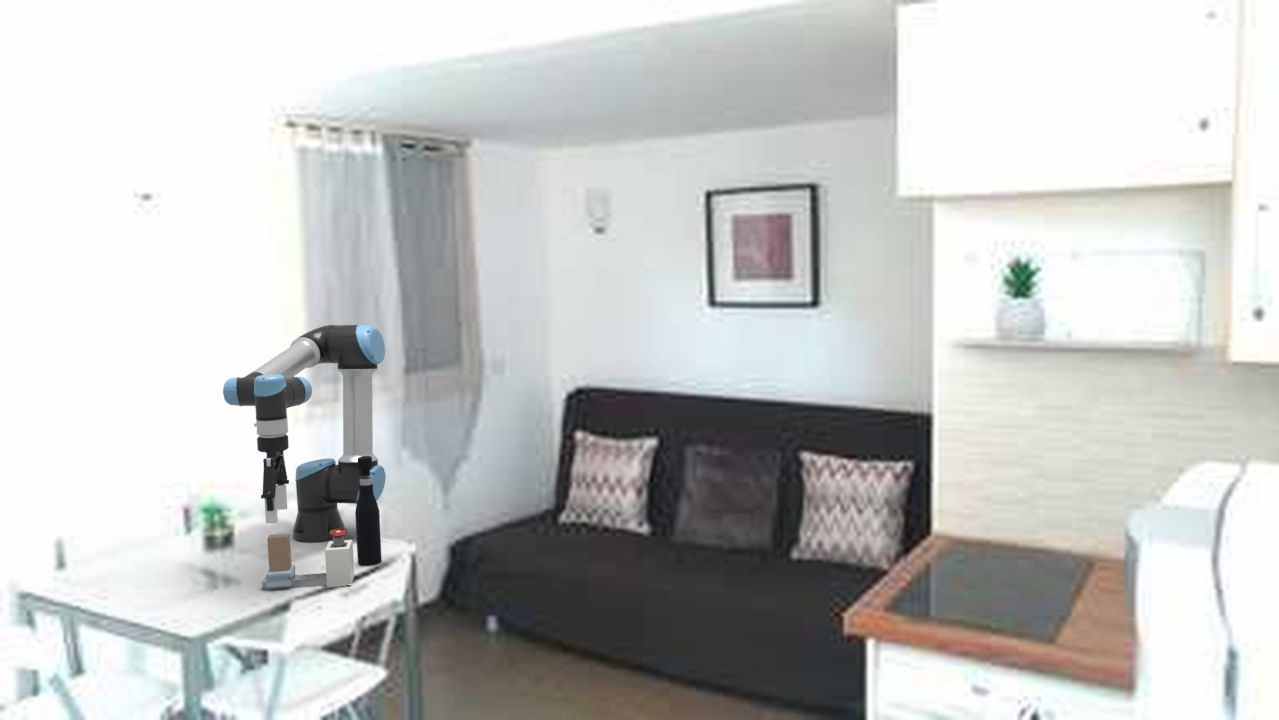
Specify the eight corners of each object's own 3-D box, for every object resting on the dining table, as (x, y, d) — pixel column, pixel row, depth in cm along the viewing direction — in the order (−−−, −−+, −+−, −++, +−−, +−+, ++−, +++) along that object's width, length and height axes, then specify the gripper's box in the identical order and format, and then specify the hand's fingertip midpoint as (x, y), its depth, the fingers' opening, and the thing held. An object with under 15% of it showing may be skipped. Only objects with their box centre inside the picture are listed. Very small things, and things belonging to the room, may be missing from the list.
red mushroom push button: (332, 554, 261) (331, 528, 260) (348, 553, 261) (346, 527, 261) (330, 558, 257) (329, 532, 256) (346, 557, 257) (345, 531, 257)
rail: (265, 584, 259) (264, 577, 258) (330, 580, 261) (329, 572, 261) (261, 589, 255) (261, 582, 254) (328, 585, 257) (327, 577, 257)
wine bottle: (357, 567, 272) (352, 460, 268) (357, 560, 278) (352, 455, 274) (381, 564, 273) (376, 458, 270) (381, 557, 280) (376, 454, 276)
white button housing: (331, 577, 263) (329, 541, 262) (354, 575, 264) (352, 539, 263) (327, 587, 255) (325, 550, 254) (350, 585, 256) (349, 548, 255)
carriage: (271, 578, 260) (269, 532, 259) (295, 577, 261) (292, 531, 260) (266, 587, 253) (263, 540, 252) (290, 585, 254) (288, 538, 253)
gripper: (266, 427, 264) (271, 504, 267) (246, 444, 240) (251, 529, 242) (295, 426, 266) (300, 503, 268) (278, 443, 241) (283, 527, 243)
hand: (276, 516), depth 255 cm, fingers open, 13 cm apart
